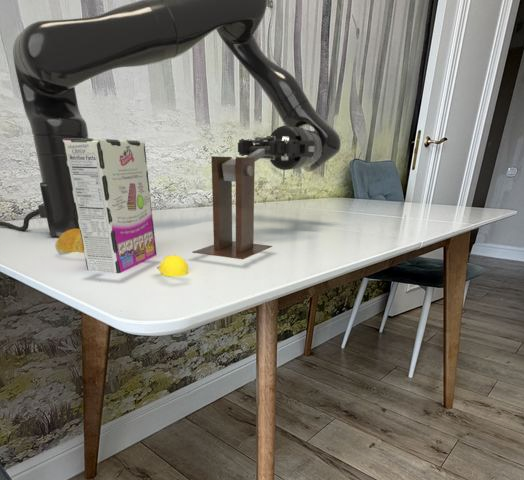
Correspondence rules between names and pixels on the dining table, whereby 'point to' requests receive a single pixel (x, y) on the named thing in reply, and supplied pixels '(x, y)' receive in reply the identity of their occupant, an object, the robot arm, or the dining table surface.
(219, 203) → the bracket
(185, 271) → the yellow lemon
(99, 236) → the candy bar box
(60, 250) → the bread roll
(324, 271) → the dining table surface
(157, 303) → the dining table surface
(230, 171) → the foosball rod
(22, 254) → the dining table surface
